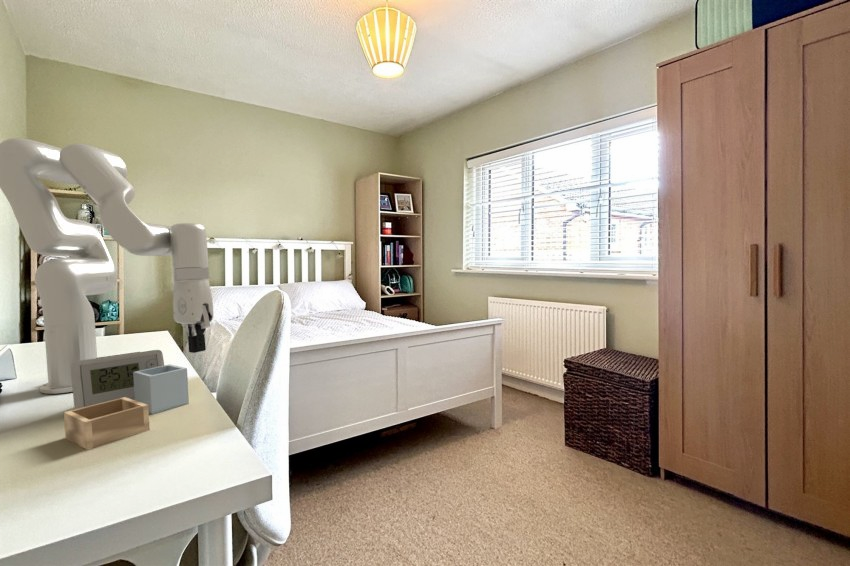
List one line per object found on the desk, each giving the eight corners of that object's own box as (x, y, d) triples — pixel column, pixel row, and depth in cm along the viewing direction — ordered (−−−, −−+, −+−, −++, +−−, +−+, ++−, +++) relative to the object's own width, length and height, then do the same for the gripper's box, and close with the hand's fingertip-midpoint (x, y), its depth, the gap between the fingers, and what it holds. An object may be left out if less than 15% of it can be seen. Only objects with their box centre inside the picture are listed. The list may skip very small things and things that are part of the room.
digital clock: (70, 420, 81) (66, 365, 81) (77, 407, 89) (74, 357, 88) (168, 403, 90) (166, 353, 89) (167, 392, 97) (165, 347, 97)
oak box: (65, 441, 71) (63, 412, 71) (126, 423, 79) (124, 396, 78) (87, 453, 66) (85, 422, 66) (149, 433, 74) (148, 405, 73)
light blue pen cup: (135, 411, 85) (133, 371, 85) (171, 400, 91) (169, 364, 91) (152, 417, 81) (149, 376, 81) (189, 406, 87) (186, 368, 87)
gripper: (159, 277, 102) (165, 352, 103) (192, 275, 93) (199, 357, 94) (190, 275, 108) (196, 346, 109) (224, 274, 100) (230, 350, 101)
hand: (197, 351), depth 102 cm, fingers closed
